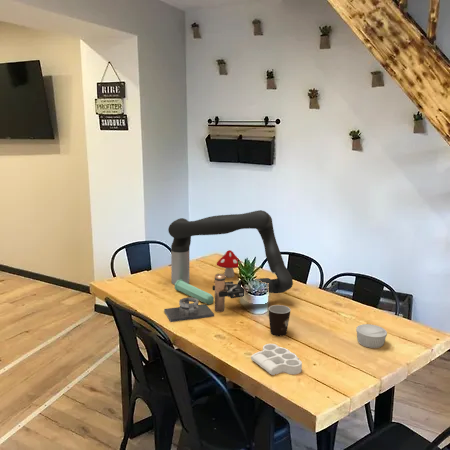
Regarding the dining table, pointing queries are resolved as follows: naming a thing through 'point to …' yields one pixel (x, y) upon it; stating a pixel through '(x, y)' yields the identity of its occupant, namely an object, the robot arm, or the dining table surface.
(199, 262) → the dining table surface
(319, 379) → the dining table surface
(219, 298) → the metal tube
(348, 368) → the dining table surface
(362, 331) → the ramekin
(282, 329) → the coffee mug
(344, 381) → the dining table surface
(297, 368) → the grey compartment tray
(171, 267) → the robot arm
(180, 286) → the container
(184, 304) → the stove plate
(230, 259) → the decorative mushroom
